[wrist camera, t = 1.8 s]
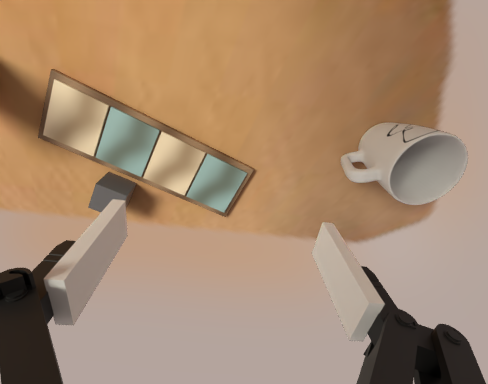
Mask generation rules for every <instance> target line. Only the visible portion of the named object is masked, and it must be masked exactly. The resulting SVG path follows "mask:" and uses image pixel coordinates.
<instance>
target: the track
mask: <svg viewBox="0 0 488 384" xmlns="http://www.w3.org/2000/svg"><path fill="white" fill-rule="evenodd" d="M38 138H41V139H43V140H45V141H48V142H50V143H52V144H55V145H57V146H59V147H62V148H64V149H66V150H69V151H71V152H73V153H76V154H78V155H81V156H83V157H85V158H88V159H90V160H92V161H95V162H97V163H99V164H102V165H104V166H106V167H109V168H111V169H113V170H116V171H118V172H120V173H123V174H125V175H128V176H130V177H132V178H135V179H137V180H139V181H142V182H144V183H146V184H149V185H151V186H153V187H156V188H158V189H160V190H163V191H165V192H168V193H170V194H172V195H175V196H177V197H179V198H182V199H184V200H186V201H189V202H191V203H193V204H196V205H198V206H200V207H203V208H205V209H207V210H210V211H212V212H215V213H217V214H219V215H222V216H224V217H226V215H227V214H228V212H229V210H230V209H231V207H232V205H233V204H234V202H235V200H236V199H237V197H238V195H239V194H240V192H241V190H242V189H243V187H244V185H245V184H246V182H247V180H248V179H249V177H250V175H251V174H252V172H253V170H254V168H252V167H250V166H248V165H246V164H244V163H242V162H240V161H238V160H236V159H234V158H232V157H230V156H228V155H226V154H224V153H222V152H220V151H218V150H216V149H214V148H212V147H210V146H208V145H206V144H204V143H202V142H199V141H197V140H195V139H193V138H191V137H189V136H187V135H185V134H183V133H181V132H179V131H177V130H175V129H173V128H171V127H169V126H167V125H165V124H163V123H161V122H159V121H157V120H155V119H153V118H151V117H149V116H147V115H145V114H143V113H141V112H139V111H137V110H135V109H133V108H131V107H129V106H127V105H125V104H123V103H121V102H119V101H117V100H115V99H113V98H111V97H109V96H107V95H105V94H103V93H101V92H99V91H97V90H95V89H93V88H91V87H89V86H87V85H85V84H83V83H81V82H79V81H77V80H75V79H73V78H71V77H69V76H67V75H65V74H63V73H61V72H59V71H57V70H55V69H51V72H50V77H49V83H48V88H47V93H46V98H45V103H44V109H43V114H42V119H41V124H40V129H39V135H38Z"/></svg>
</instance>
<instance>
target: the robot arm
mask: <svg viewBox="0 0 488 384" xmlns="http://www.w3.org/2000/svg"><path fill="white" fill-rule="evenodd" d="M126 237H127V220H126V203H125V200H116V199H112V201H111V202H110V203H109V204H108V205H107V206H106V207H105V209H104V210H103V211H102V212H101V213H100V214H99V216H98V217H97V218H96V219H95V220H94V221H93V223H92V224H91V225H90V226H89V227H88V228H87V229H86V231H85V232H84V233H83V234H82V235H81V236H80V237H79V239H78V240H77V241H67V240H66V241H64V242H63V243H61V244H59V245H58V246H56V247H55V248H54V249H53V250H52V251H51V252H50V253H49V255H47V256H46V257H45V258H44V260H43V261H42V262H41V263H40V264H39V265H38V266H37V267H36V268H35V269H34V270H33V271H32V272H31V271H30V270H29V269H26V268H14V269H9V270H7V271H4V272H2V273H0V374H1V383H2V384H63V381H62V377H61V373H60V370H59V366H58V362H57V359H56V355H55V351H54V348H53V344H52V340H51V337H50V333H49V329H48V326H47V324H48V322H49V321H50V320H51V318H52V317H54V321H55V324H59V325H74V324H75V322H76V321H77V319H78V317H79V316H80V314H81V312H82V311H83V309H84V307H85V306H86V304H87V302H88V301H89V299H90V297H91V296H92V294H93V292H94V291H95V289H96V287H97V286H98V284H99V282H100V280H101V279H102V277H103V276H104V274H105V272H106V271H107V269H108V267H109V266H110V264H111V262H112V261H113V259H114V257H115V256H116V254H117V252H118V250H119V249H120V247H121V246H122V244H123V242H124V241H125V239H126ZM312 255H313V257H314V259H315V262H316V264H317V267H318V269H319V271H320V274H321V276H322V278H323V281H324V283H325V285H326V288H327V290H328V292H329V295H330V297H331V299H332V302H333V304H334V306H335V309H336V311H337V314H338V316H339V318H340V321H341V323H342V325H343V328H344V330H345V332H346V335H347V337H348V339H349V341H363V340H364V339H365V337H366V336H367V334H368V335H369V337H370V339H371V343H370V345H369V346H368V348H367V349H366V351H365V353H364V355H365V359H364V362H363V366H362V368H361V372H360V375H359V378H358V381H357V384H413V377H414V382H415V384H486V383H485V380H484V378H483V375H482V373H481V371H480V368H479V366H478V363H477V361H476V358H475V356H474V354H473V351H472V349H471V347H470V344H469V342H468V341H467V339H466V338H465V337H464V336H463V335H462V334H461V333H460V332H459V331H457V330H456V329H454V328H453V327H451V326H449V325H445V324H439V325H437V326H436V328H435V329H431V328H427V327H425V326H422V325H419V324H418V323H417V322H416V320H415V319H414V318H413V317H412V316H411V315H409V314H408V313H407V312H405V311H403V310H400V309H398V308H397V307H396V305H395V304H394V302H393V301H392V299H391V298H390V296H389V295H388V293H387V292H386V290H385V289H384V288H383V286H382V285H381V283H380V282H379V280H378V279H377V277H376V276H375V274H374V273H373V272H372V271H370V270H369V269H368V268H367V267H363V266H360V264H359V263H358V261H357V260H356V258H355V257H354V255H353V254H352V252H351V250H350V249H349V247H348V246H347V244H346V243H345V241H344V239H343V238H342V236H341V235H340V233H339V232H338V230H337V228H336V227H335V225H334V224H333V223H327V222H322V225H321V228H320V231H319V234H318V237H317V239H316V242H315V246H314V248H313V251H312Z"/></svg>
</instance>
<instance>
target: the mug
mask: <svg viewBox="0 0 488 384" xmlns="http://www.w3.org/2000/svg"><path fill="white" fill-rule="evenodd" d="M353 162H363V163H364V165H365V166H366V167H367V169H357V168H355V167H354V166H353V165H352V163H353ZM467 162H468V153H467V149H466V146H465V145H464V143H463V142H462V141H461V140H460V139H459V138H458V137H457V136H455V135H453V134H450V133H447V132H444V131H440V130H435V129H431V128H427V127H423V126H418V125H412V124H402V123H380V124H377V125H375V126H373V127H371V128H370V129H369V130H367V131H366V133H365V134H364V135H363V136H362V138H361V140H360V143H359V147H358V151H356V152H351V153H348V154H345V155H343V156H342V157H341V166H342V167H343V169H344V172H345V175H346V176H347V178H348V179H349V180H351V181H353V182H356V183H365V182H371V181H376V180H377V182H378V183H379V184H380V185H381V186H382V187H383V188H384V189H385V190H386V191H387V192H388V193H389V194H390V195H391V196H392V197H393V198H395V199H396V200H398V201H400V202H402V203H404V204H409V205H421V204H426V203H429V202H432V201H434V200H437V199H438V198H440V197H442V196H443V195H445V194H446V193H447V192H449V191H450V190H451V189H452V188H453V187H454V186H455V185H456V184H457V183H458V181H459V180H460V179H461V177H462V175H463V174H464V171H465V169H466V166H467Z"/></svg>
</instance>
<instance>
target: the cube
mask: <svg viewBox="0 0 488 384" xmlns="http://www.w3.org/2000/svg"><path fill="white" fill-rule="evenodd" d="M136 184H137V183H135V182H132V181H130V180H128V179H125V178H123V177H120V176H118V175H116V174H113V173H111V172H108V173H107V174H106V175H105V176H104V177H103V178H101V179H100V180H99V181H98V182H97V183H96V185H95V188H94V191H93V194H92V198H91V201H90V204H89V207H88V208H91V209H94V210H96V211H99V212H102V211H103V210H104V209H105V207H106V206H107V205H108V204H109V203H110V202H111V201H112V199H116V200H125V203H126V207H127V205H128V204H129V201H130V199H131V196H132V194H133V191H134V189H135V186H136Z"/></svg>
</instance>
